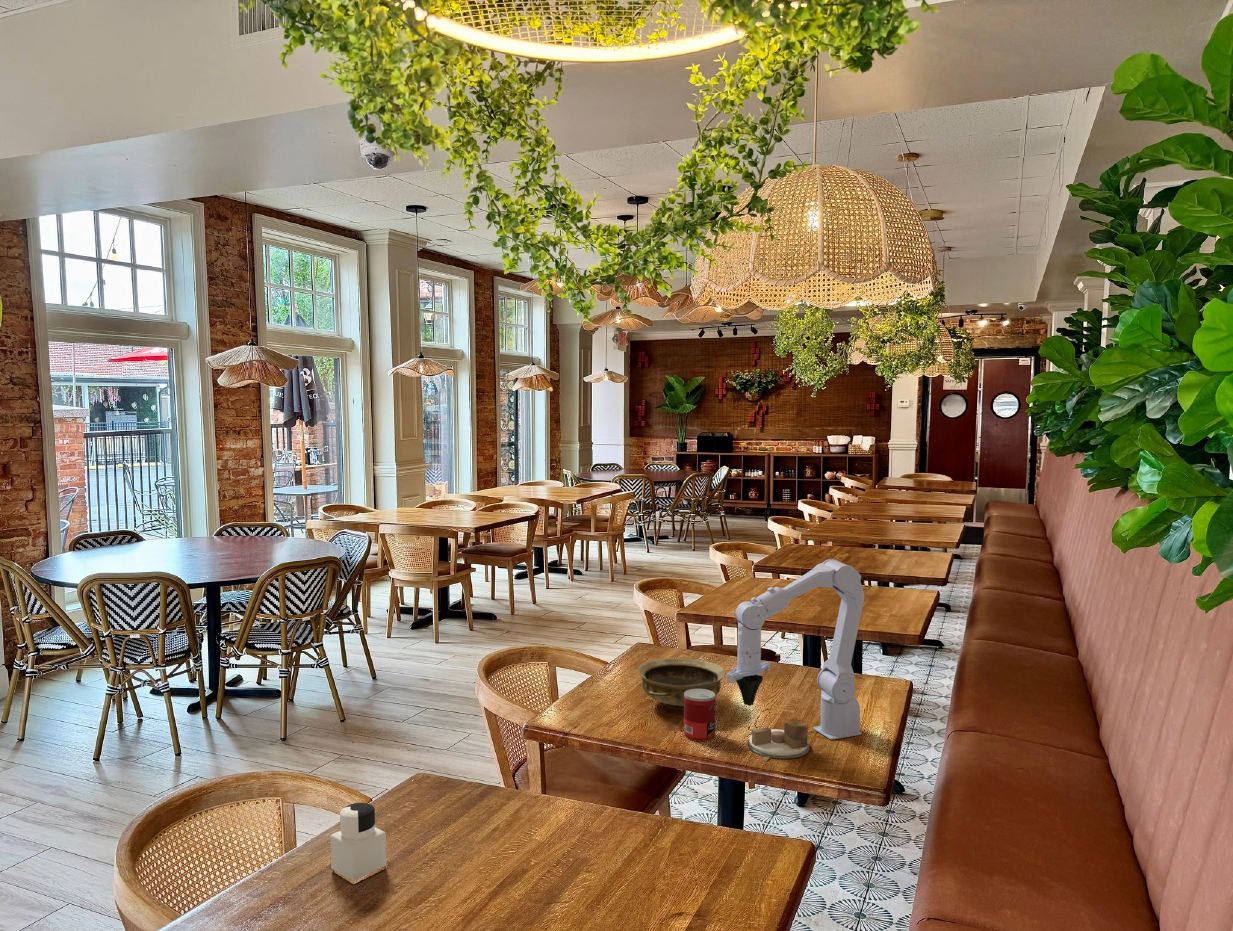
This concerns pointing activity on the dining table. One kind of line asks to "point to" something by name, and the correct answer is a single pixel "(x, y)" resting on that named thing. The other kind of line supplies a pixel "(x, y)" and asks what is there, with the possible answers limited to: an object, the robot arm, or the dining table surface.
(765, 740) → the turntable
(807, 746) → the bearing plate
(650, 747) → the dining table surface
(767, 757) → the index mark
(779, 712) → the dining table surface
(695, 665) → the ceramic bowl
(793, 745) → the walnut block
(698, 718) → the canned food
